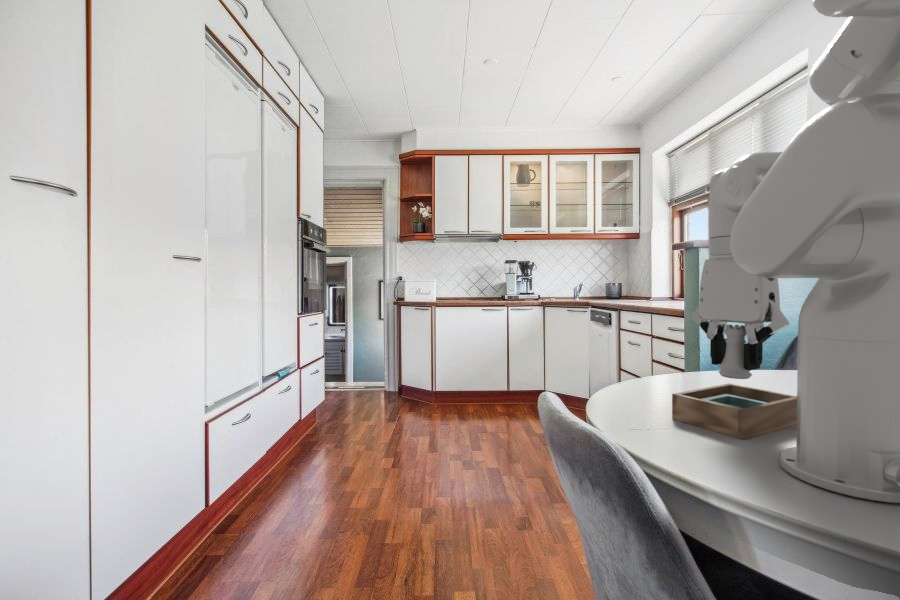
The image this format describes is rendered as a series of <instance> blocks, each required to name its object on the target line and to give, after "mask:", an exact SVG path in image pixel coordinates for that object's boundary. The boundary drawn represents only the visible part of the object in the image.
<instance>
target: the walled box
mask: <svg viewBox="0 0 900 600" xmlns="http://www.w3.org/2000/svg"><path fill="white" fill-rule="evenodd" d="M671 397H672V400H671V406H672V407H671V408H672V409H671V417H672V418H671V419H672V420H675V421H679V422H682V423H685V424H689V425H692V426H695V427H699V428H703V429H706V430H709V431H713V432H715V433H718V434H719V433H721V434H723V435H727V436H730V437H734V438H736V439H740V440H744V441H745V440H748V439H752V438H754V437H759V436H762V435H765V434H768V433H769V434H770V433H773V432H775V431H779V430H783V429H786V428H790V427H792V426H797V395H792V394H787V393H783V392H782V393H781V392H777V391H771V390H766V389H761V388H757V387H756V388H755V387H750V386H744V385H740V384H734V383H730V382H729V383H723V384H719V385H714V386H712V385H711V386H707V387H704V388H703V387H702V388H696V389H692V390H686V391H681V392H676V393H672V395H671Z"/></svg>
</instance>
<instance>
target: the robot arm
mask: <svg viewBox="0 0 900 600" xmlns="http://www.w3.org/2000/svg"><path fill="white" fill-rule="evenodd" d="M811 4H812V6H813V8H814V9H815V11H817V13H819V14H821V15H823V16H826V17H830V18H831V17H832V18H847V19H846V20H845V22H844V24H843V25H842V27H840V29H839V30H838V32H837V33H836V35H835V36H834V38H833V39H832V40H831V42H830V43H829V44H828V45H827V47H826V48H825V50H824V51H823V53H822V54H821V56H820V57H819V58H818V60H817V61H816V62H815V64H813V67H812V68H811V71H810V74H809V79H808V80H809V85H810V88H811V89H812V91H813V92H814V94H815V95H816V96H817V97H818V98H819V99H820V100H821V101H823V102H824V103H826V105H829V106H828V107H825V108H824V109H822V110H821V111H820V112H819V113H817V114H816V115H814V116H813V117H812V118H810V119H809V120H808V121H807V122H806V123H805V124H804V125H803V126H802V127H801V128H800V129H799V130H798V131H797V132H796V134H795V135H794V136H793V138H792V139H791V140H790V142H789V143H788V144H786V147H785V148H784V150H783V151H774V152H773V151H772V152H770V151H767V152H753V153H752V152H751V153H748V154H745V155H743V156H740V157H739V158H738V159H737V160H736V161H735V162H733V163H732V164H731V165H730V166H729V167H728V168H724V169H720V170H718V171H716V172H715V173H713V175H712V176H711V177H710V179H709V180H710V181H709V192H708V193H709V200H708V201H709V204H708V205H709V207H708V208H709V209H708V211H709V212H708V213H709V215H708V258H707V259H705V260H704V263H703V267H702V272H701V277H700V283H699V284H700V285H699V293H698V305H697V307H696V309H695V310H694V311H693V313H692V315H691V316H690V318H691V321H693V322H694V323H695V324H696V325H698V326H700V328H701V330H702V331H703V332H704V333H705V334H706V337H707V339H708V340H710V342H709V344H710V345H709V346H710V349H709V350H710V352H709V356H710V359H711V365H713V366H714V365H715V366H717V365H718V366H719V365H720V364H721V363H722V362H723V359H724V357H725V353H726V341H725V340H726V339H727V338H725V335H726V334H725V333H724V330H725V329H726V325H728V323H736V324H737V323H738V324H743V325H744V326H745V329H746V338H747V342H746V343H745V344H744V369H745V370H750V371H753V370H759V369H760V368H761V365H762V363H763V352H764V351H763V347H764V346H763V344H764V343H767V340H768V339H769V338H771V337H772V336H774V335H775V334H776V333H777V332H779V331H781V330H783V329H785V328H787V327H789V326H790V322H789V320H788V319H787V317H786V315H784V313H783V312H782V310H781V303H780V302H781V300H780V299H781V298H780V287H779V279H817V281H816V282H815V284H814V286H813V287H812V288H811V290H810V292H809V293H808V295H807V296H806V298H805V299H804V302H803V304H802V305H801V309H800V311H799V315H798V321H797V323H798V324H797V377H796V378H797V379H796V380H797V381H796V384H797V387H796V388H797V389H796V391H797V392H796V396H797V425H796V446H794V447H793V446H792V447H789V448H788V447H787V448H786V449H783V450H782V451H781V452H780V453H779V464H780V467H782V469H784V470H785V471H786V472H787V473H789V474H790V475H792V476H793V477H795V478H797V479H800V481H801V480H802V481H804V482H806V483H807V484H811V485H812V486H813V485H814V486H816V487H819V488H822V489H824V490H828V491H831V492H835V493H837V494H840V495H845V496H849V497H853V498H859V499H864V500H869V501H874V502H876V501H877V502H883V503H893V504H900V0H811ZM765 323H769V324H767V325H766V326H765V325H764V324H765Z"/></svg>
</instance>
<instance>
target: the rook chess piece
mask: <svg viewBox="0 0 900 600" xmlns="http://www.w3.org/2000/svg"><path fill="white" fill-rule="evenodd" d="M724 333H725V334H724V335H726V338H725V339H726V340H725V341H726V353H725V357H724V359H723V362H722V363H721V364H718V367H719V368H720V370H718V373H719V374H720V376H721V377H723V378H729V379H734V380H748V379H750V378H751V377H752V376H753V374H752V373H751V370H745V369H744V344H746V343H747V341H746V338H745V337H747V334H746V329H745V324H743V325H742V324H741V325H739V324H734V325H733V324H727V325H726V329H725V330H724Z"/></svg>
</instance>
